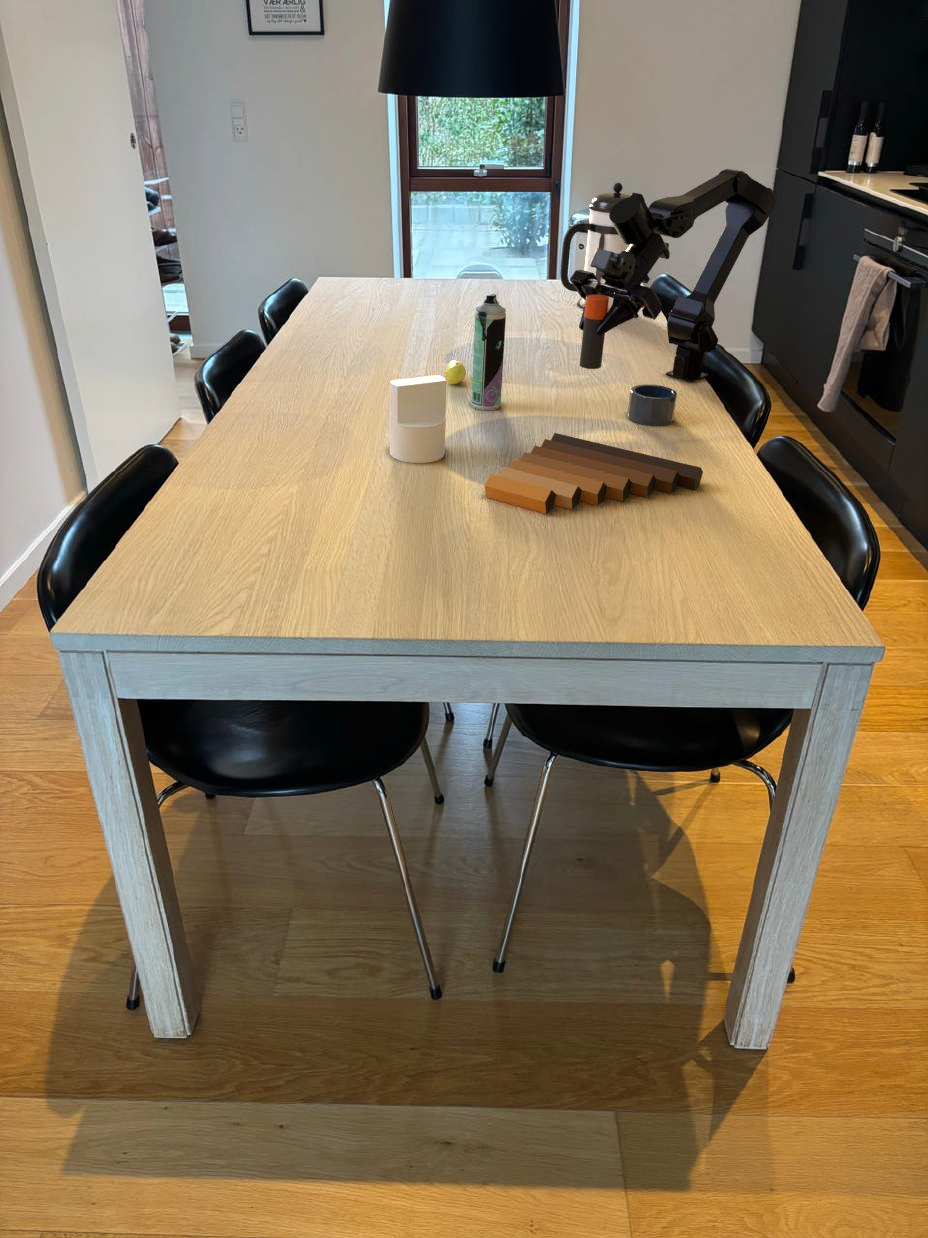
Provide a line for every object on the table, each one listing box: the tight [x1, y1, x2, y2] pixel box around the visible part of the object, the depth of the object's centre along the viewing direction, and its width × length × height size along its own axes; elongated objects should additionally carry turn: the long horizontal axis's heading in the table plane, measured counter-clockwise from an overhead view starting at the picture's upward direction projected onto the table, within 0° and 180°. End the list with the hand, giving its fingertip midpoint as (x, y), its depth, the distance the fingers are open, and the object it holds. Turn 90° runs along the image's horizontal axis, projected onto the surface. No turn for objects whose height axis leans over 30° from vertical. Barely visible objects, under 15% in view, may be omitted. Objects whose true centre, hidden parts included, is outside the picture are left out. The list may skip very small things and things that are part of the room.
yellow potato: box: [444, 360, 467, 385], centre depth 190 cm, size 4×8×4 cm, turn 172°
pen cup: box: [627, 383, 678, 427], centre depth 175 cm, size 8×8×5 cm
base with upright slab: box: [389, 374, 447, 464], centre depth 155 cm, size 9×9×12 cm
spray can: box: [470, 293, 507, 411], centre depth 174 cm, size 6×6×20 cm
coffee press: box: [559, 182, 632, 311], centre depth 237 cm, size 17×16×30 cm
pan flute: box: [484, 432, 704, 515], centre depth 146 cm, size 25×3×25 cm
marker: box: [579, 295, 609, 370], centre depth 176 cm, size 4×4×12 cm
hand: (588, 331), depth 175 cm, fingers closed on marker, 4 cm apart
